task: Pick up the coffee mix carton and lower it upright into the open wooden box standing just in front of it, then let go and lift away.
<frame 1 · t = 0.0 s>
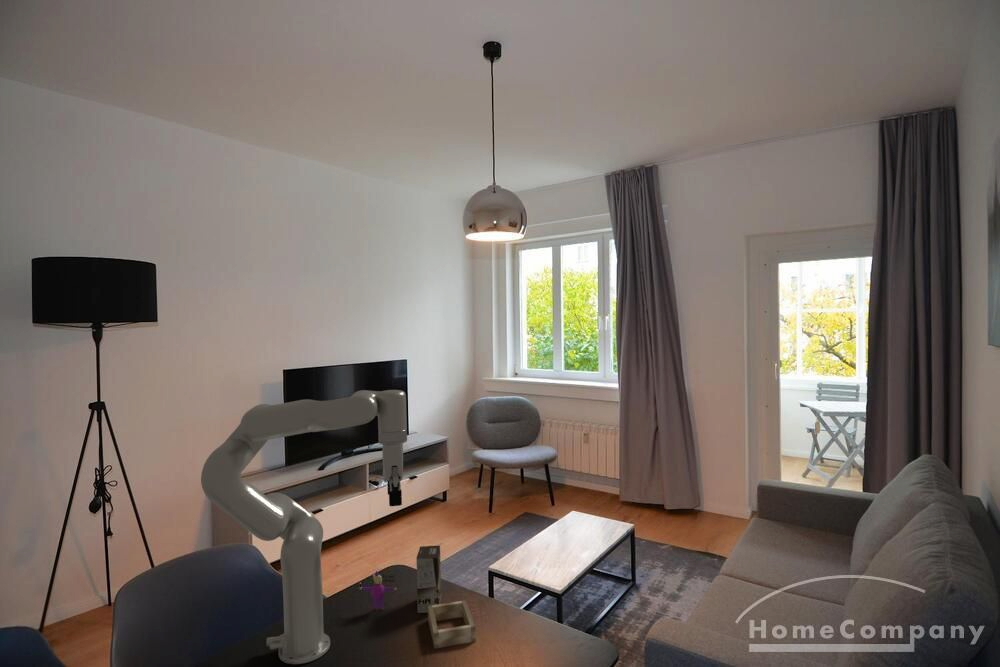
hand: (394, 499, 144), 37 cm above the table, tool pointing down, fingers open, 9 cm apart
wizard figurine: (378, 611, 157), on the table
open wooden box: (451, 630, 147), on the table
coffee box: (430, 605, 160), on the table
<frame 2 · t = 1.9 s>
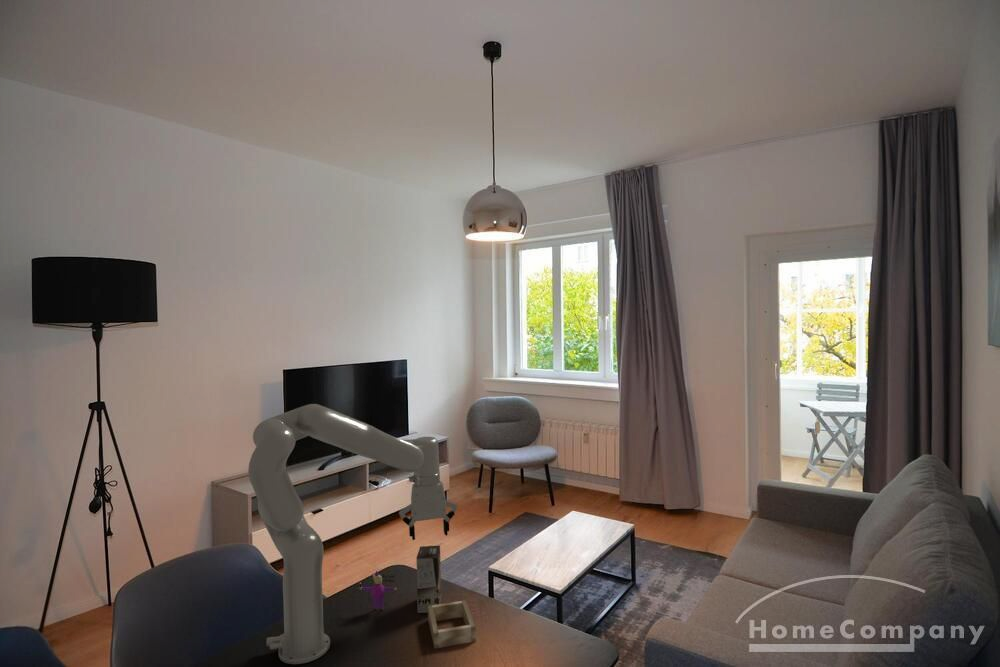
hand: (429, 536, 160), 21 cm above the table, tool pointing down, fingers open, 9 cm apart
nothing on the table moved.
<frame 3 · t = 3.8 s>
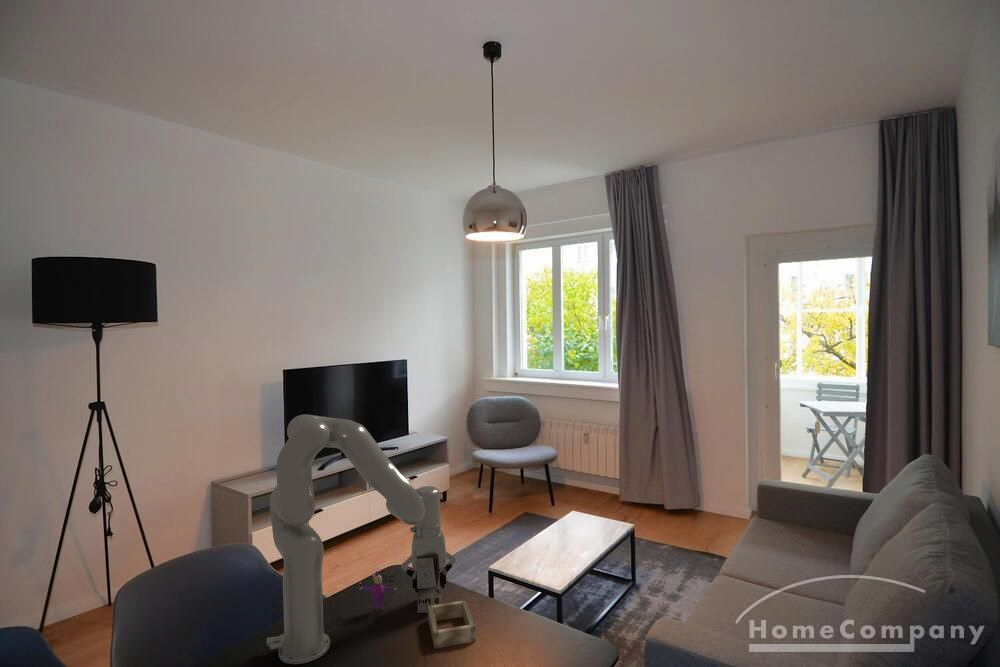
hand: (429, 588, 160), 5 cm above the table, tool pointing down, fingers closed on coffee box, 7 cm apart
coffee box: (430, 605, 160), on the table, touching gripper
everything else where it was.
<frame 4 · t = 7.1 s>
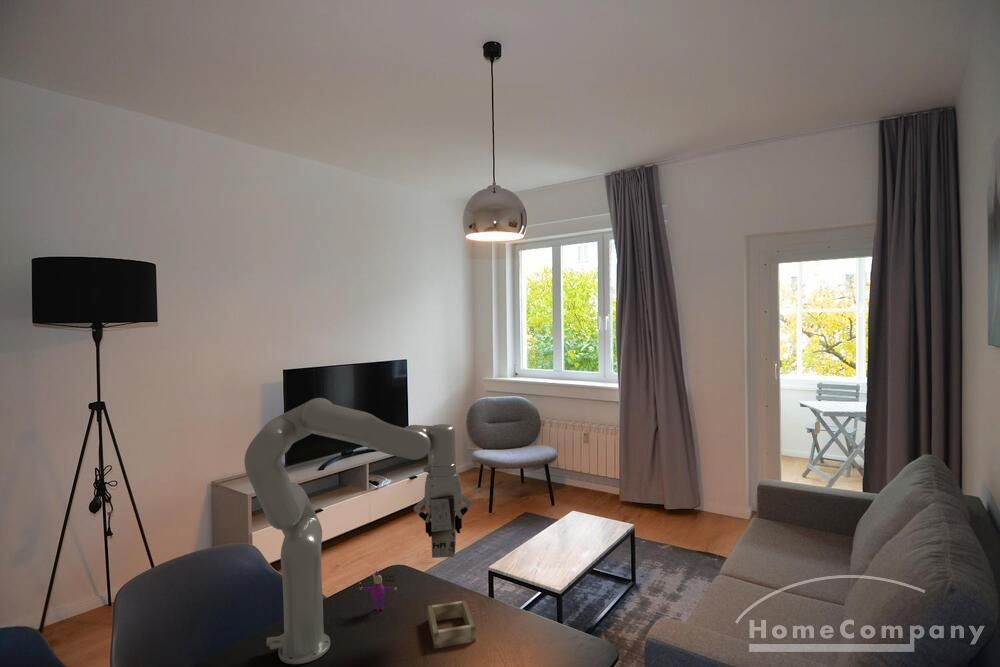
hand: (443, 532, 149), 26 cm above the table, tool pointing down, fingers closed on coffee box, 7 cm apart
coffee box: (444, 551, 149), point 20 cm above the table, touching gripper
everything else where it was.
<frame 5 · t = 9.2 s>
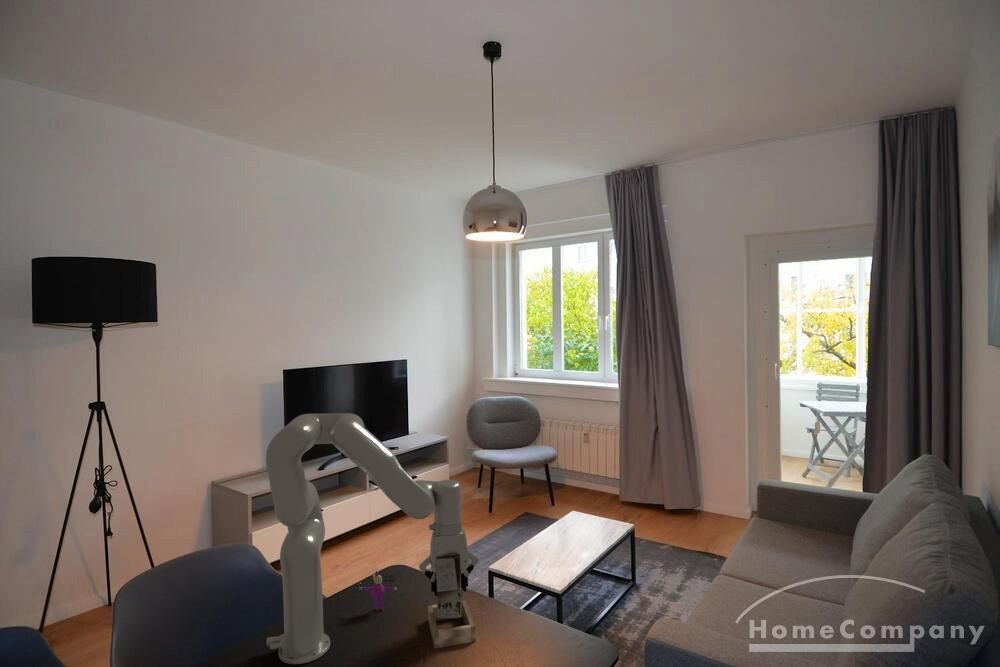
hand: (449, 591, 146), 11 cm above the table, tool pointing down, fingers closed on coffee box, 7 cm apart
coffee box: (450, 610, 146), point 6 cm above the table, touching gripper
everything else where it was.
when the fingers open (6 cm above the table, at t = 10.8 s): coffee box drops 1 cm, resting in open wooden box.
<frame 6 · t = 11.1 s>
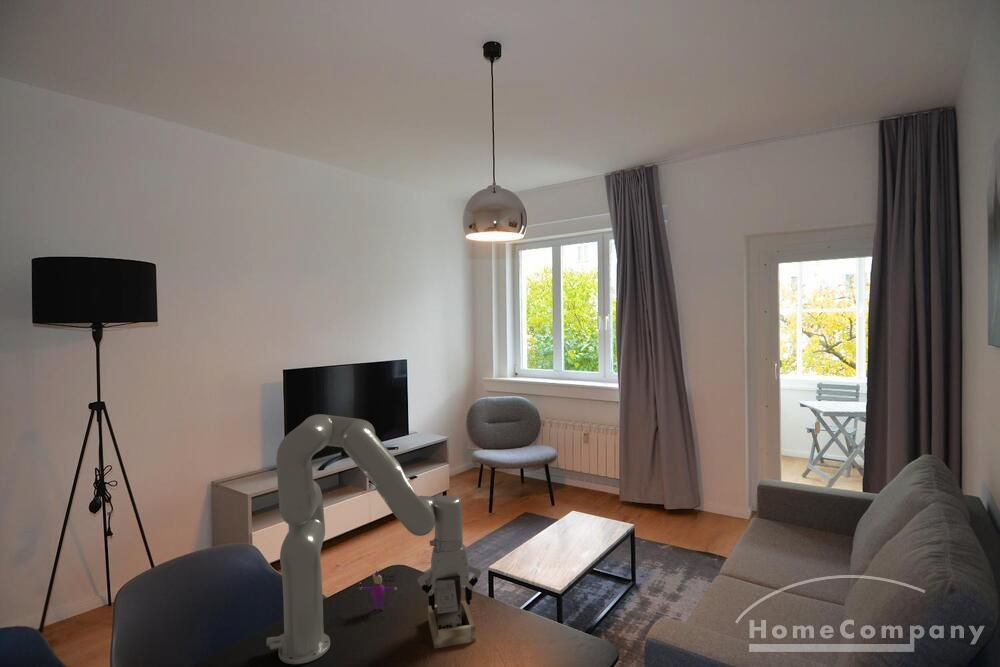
hand: (450, 604, 146), 7 cm above the table, tool pointing down, fingers open, 9 cm apart
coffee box: (450, 631, 147), resting in open wooden box
everything else where it was.
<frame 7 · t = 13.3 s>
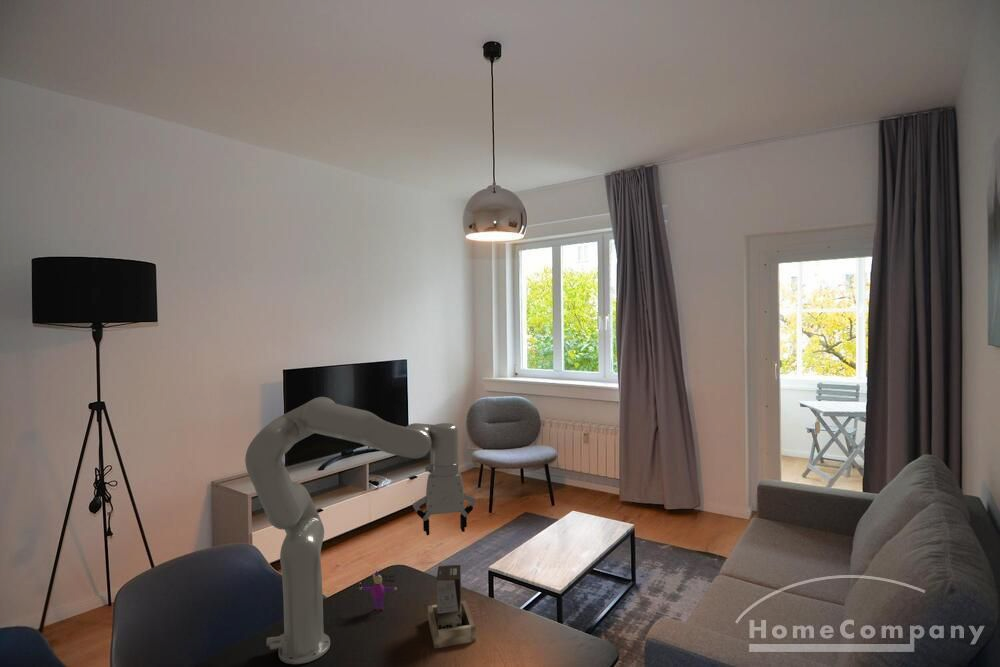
hand: (445, 531, 147), 27 cm above the table, tool pointing down, fingers open, 9 cm apart
nothing on the table moved.
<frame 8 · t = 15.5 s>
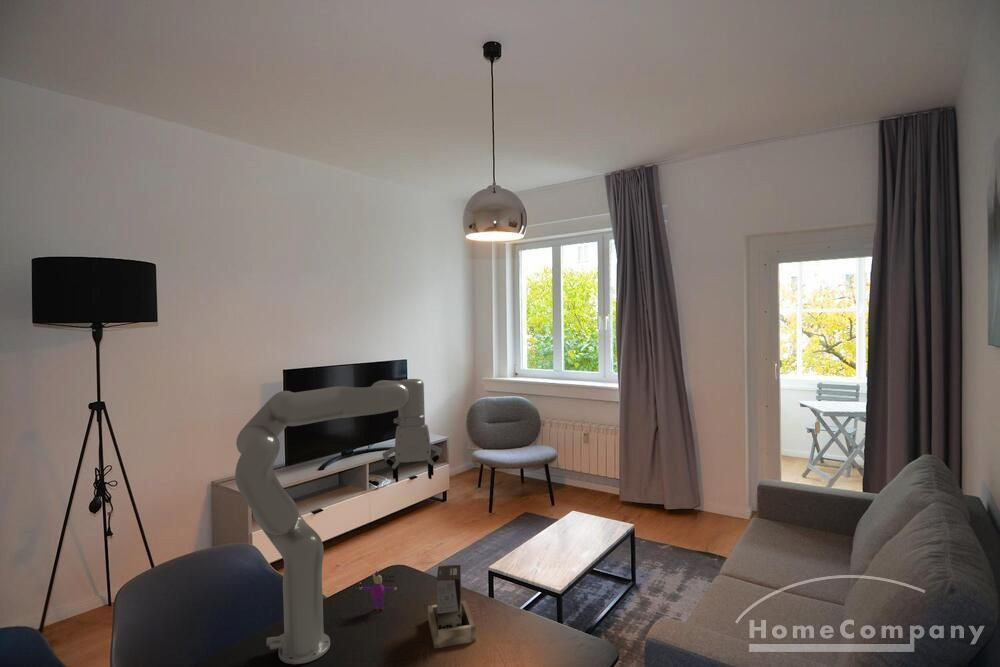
hand: (413, 479, 157), 38 cm above the table, tool pointing down, fingers open, 9 cm apart
nothing on the table moved.
at the end: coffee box 0.2 cm off-centre on the open wooden box, point 0.0 cm above the open wooden box's base; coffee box tilted 0°; the gripper is holding nothing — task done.
